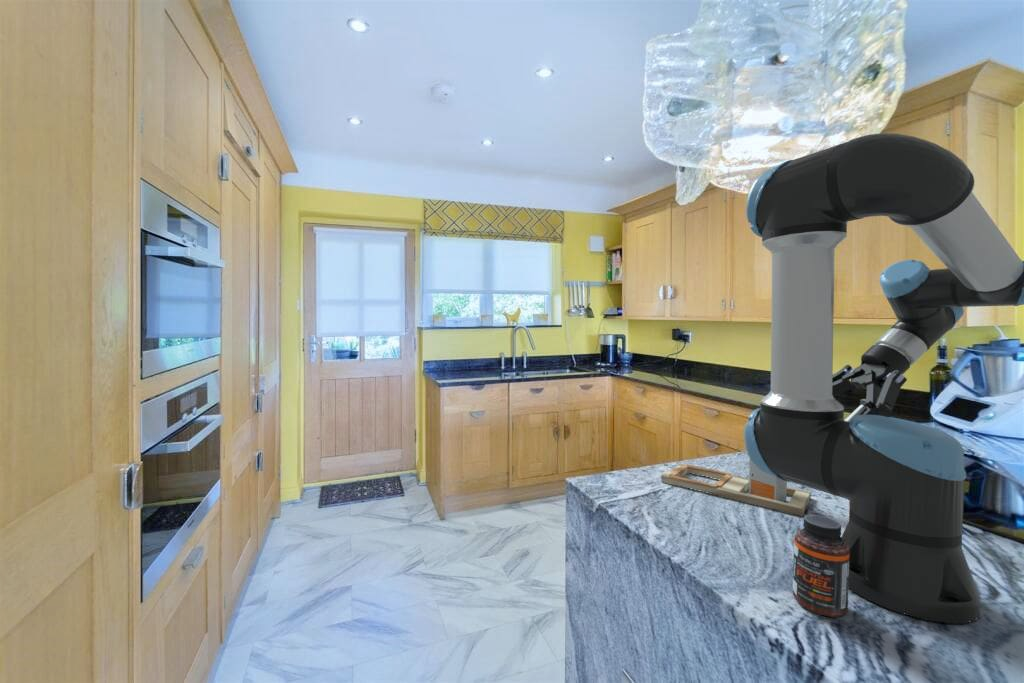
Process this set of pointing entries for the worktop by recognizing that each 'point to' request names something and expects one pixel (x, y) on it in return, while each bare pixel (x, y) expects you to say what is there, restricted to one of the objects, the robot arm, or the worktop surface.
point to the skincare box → (766, 484)
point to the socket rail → (735, 488)
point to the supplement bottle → (821, 567)
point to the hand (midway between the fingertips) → (818, 425)
